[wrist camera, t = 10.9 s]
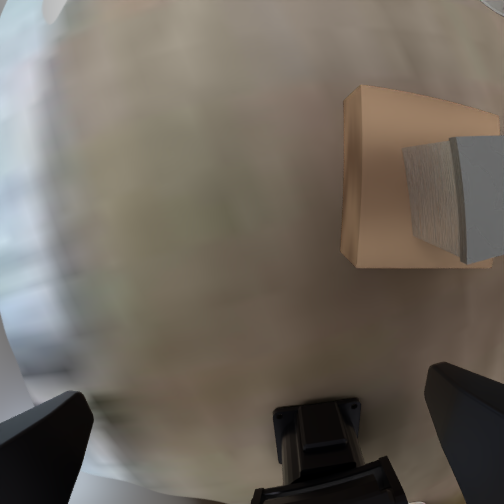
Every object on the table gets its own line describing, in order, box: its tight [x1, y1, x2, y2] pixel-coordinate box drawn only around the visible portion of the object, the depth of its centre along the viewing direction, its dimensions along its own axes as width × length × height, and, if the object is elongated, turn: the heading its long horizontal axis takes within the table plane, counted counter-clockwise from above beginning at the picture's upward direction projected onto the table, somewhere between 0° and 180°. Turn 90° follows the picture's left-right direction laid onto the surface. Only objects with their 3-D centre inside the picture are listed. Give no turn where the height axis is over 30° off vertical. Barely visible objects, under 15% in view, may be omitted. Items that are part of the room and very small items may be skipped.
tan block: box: [340, 85, 500, 268], centre depth 16 cm, size 9×9×4 cm
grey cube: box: [402, 136, 504, 265], centre depth 12 cm, size 5×5×5 cm
